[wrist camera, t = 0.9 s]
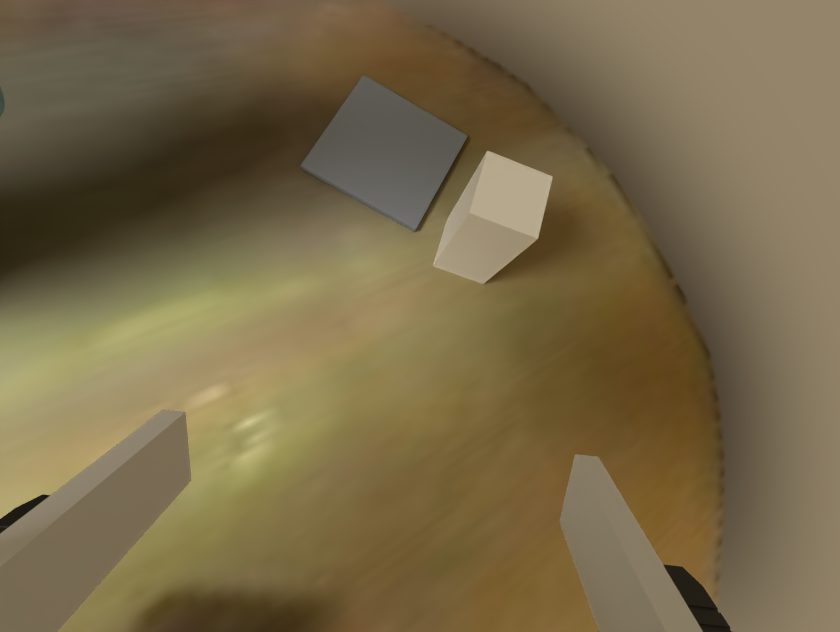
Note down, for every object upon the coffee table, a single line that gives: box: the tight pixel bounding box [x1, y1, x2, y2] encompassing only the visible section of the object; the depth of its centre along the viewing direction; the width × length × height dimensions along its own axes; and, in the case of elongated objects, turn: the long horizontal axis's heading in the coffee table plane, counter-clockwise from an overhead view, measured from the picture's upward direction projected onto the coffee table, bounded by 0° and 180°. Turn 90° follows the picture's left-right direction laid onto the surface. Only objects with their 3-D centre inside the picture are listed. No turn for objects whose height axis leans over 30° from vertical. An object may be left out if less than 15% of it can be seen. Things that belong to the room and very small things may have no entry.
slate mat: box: [300, 75, 468, 232], centre depth 46 cm, size 14×14×1 cm
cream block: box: [433, 151, 553, 284], centre depth 39 cm, size 6×6×13 cm
